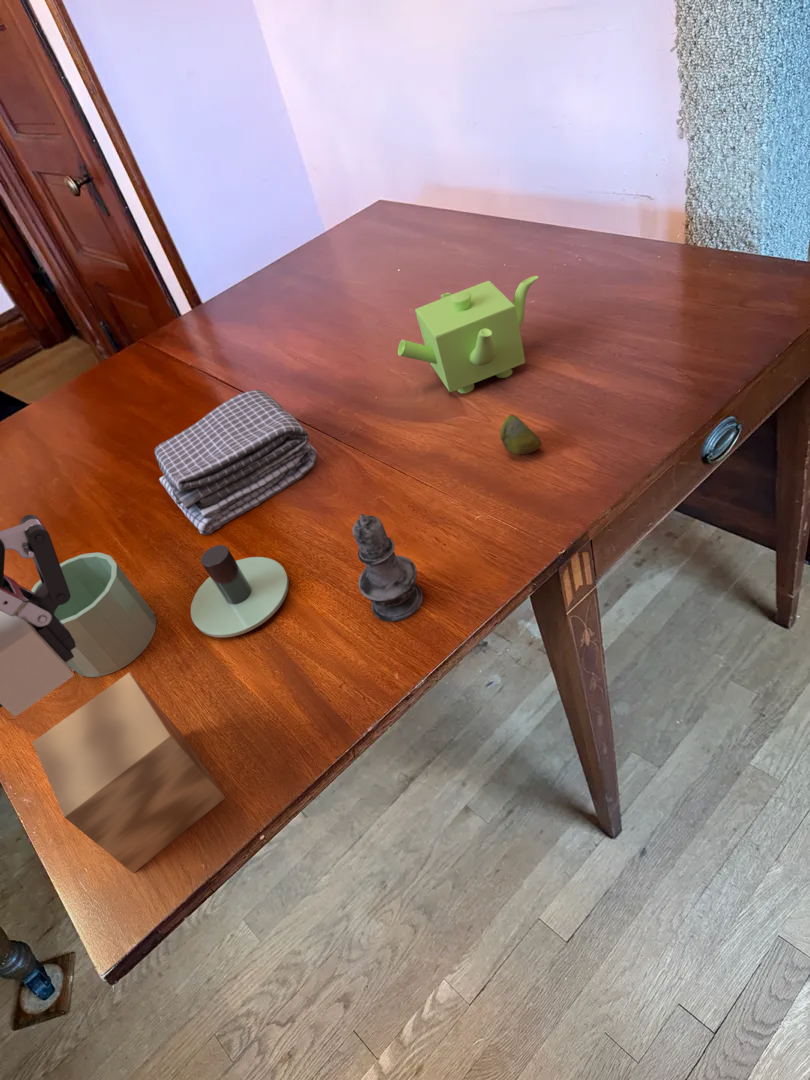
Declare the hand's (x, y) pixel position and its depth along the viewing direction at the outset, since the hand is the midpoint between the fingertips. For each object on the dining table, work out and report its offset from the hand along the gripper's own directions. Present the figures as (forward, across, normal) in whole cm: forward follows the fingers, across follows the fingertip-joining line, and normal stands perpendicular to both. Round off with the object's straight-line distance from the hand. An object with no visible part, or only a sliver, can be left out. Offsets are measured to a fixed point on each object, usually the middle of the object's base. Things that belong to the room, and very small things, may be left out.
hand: (33, 675), depth 53 cm
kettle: (+18, +61, +24) cm, 68 cm away
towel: (+18, +28, +35) cm, 49 cm away
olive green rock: (+18, +52, +7) cm, 56 cm away
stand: (+19, 0, 0) cm, 19 cm away
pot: (+18, +4, +22) cm, 29 cm away
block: (0, 0, 0) cm, 0 cm away
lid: (+18, +17, +15) cm, 29 cm away
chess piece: (+19, +28, +1) cm, 34 cm away
